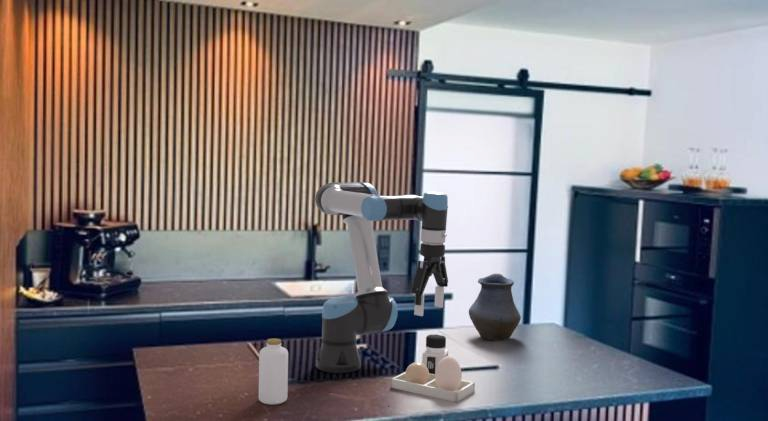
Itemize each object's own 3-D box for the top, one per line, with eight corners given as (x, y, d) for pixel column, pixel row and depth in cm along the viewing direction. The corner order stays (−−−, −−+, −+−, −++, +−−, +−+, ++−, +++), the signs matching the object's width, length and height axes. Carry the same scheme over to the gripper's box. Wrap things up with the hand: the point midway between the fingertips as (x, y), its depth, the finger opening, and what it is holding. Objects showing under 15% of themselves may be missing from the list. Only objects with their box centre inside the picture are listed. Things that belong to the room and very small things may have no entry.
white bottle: (259, 396, 217) (260, 336, 216) (288, 396, 218) (289, 336, 216) (257, 405, 209) (258, 343, 207) (286, 405, 210) (287, 344, 208)
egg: (463, 390, 225) (465, 354, 224) (457, 398, 217) (459, 361, 216) (438, 387, 227) (439, 351, 227) (431, 395, 220) (433, 358, 219)
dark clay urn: (466, 342, 285) (468, 279, 283) (469, 329, 307) (471, 270, 305) (520, 346, 282) (522, 282, 280) (519, 333, 303) (521, 273, 301)
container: (444, 378, 240) (446, 339, 239) (421, 376, 241) (422, 337, 240) (447, 371, 247) (449, 333, 246) (424, 369, 249) (426, 331, 248)
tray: (390, 389, 226) (391, 378, 226) (410, 379, 237) (410, 369, 236) (456, 404, 215) (457, 393, 214) (474, 393, 225) (474, 382, 225)
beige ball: (400, 386, 227) (401, 363, 227) (412, 380, 233) (413, 357, 233) (421, 391, 223) (422, 367, 223) (433, 385, 230) (433, 361, 229)
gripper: (425, 249, 211) (420, 321, 214) (461, 240, 233) (457, 305, 235) (402, 246, 215) (398, 316, 217) (439, 237, 236) (436, 301, 239)
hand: (428, 311), depth 226 cm, fingers open, 13 cm apart
